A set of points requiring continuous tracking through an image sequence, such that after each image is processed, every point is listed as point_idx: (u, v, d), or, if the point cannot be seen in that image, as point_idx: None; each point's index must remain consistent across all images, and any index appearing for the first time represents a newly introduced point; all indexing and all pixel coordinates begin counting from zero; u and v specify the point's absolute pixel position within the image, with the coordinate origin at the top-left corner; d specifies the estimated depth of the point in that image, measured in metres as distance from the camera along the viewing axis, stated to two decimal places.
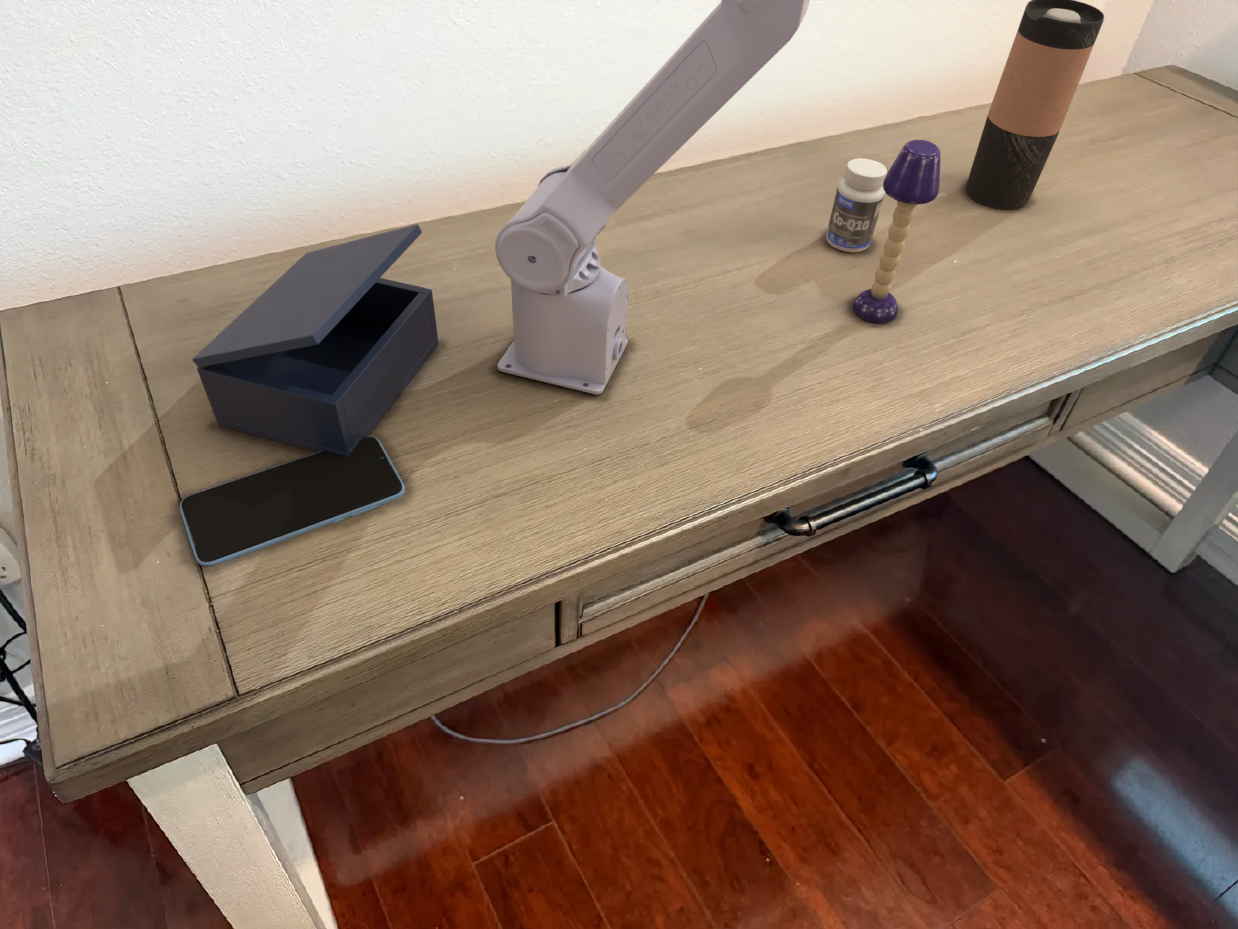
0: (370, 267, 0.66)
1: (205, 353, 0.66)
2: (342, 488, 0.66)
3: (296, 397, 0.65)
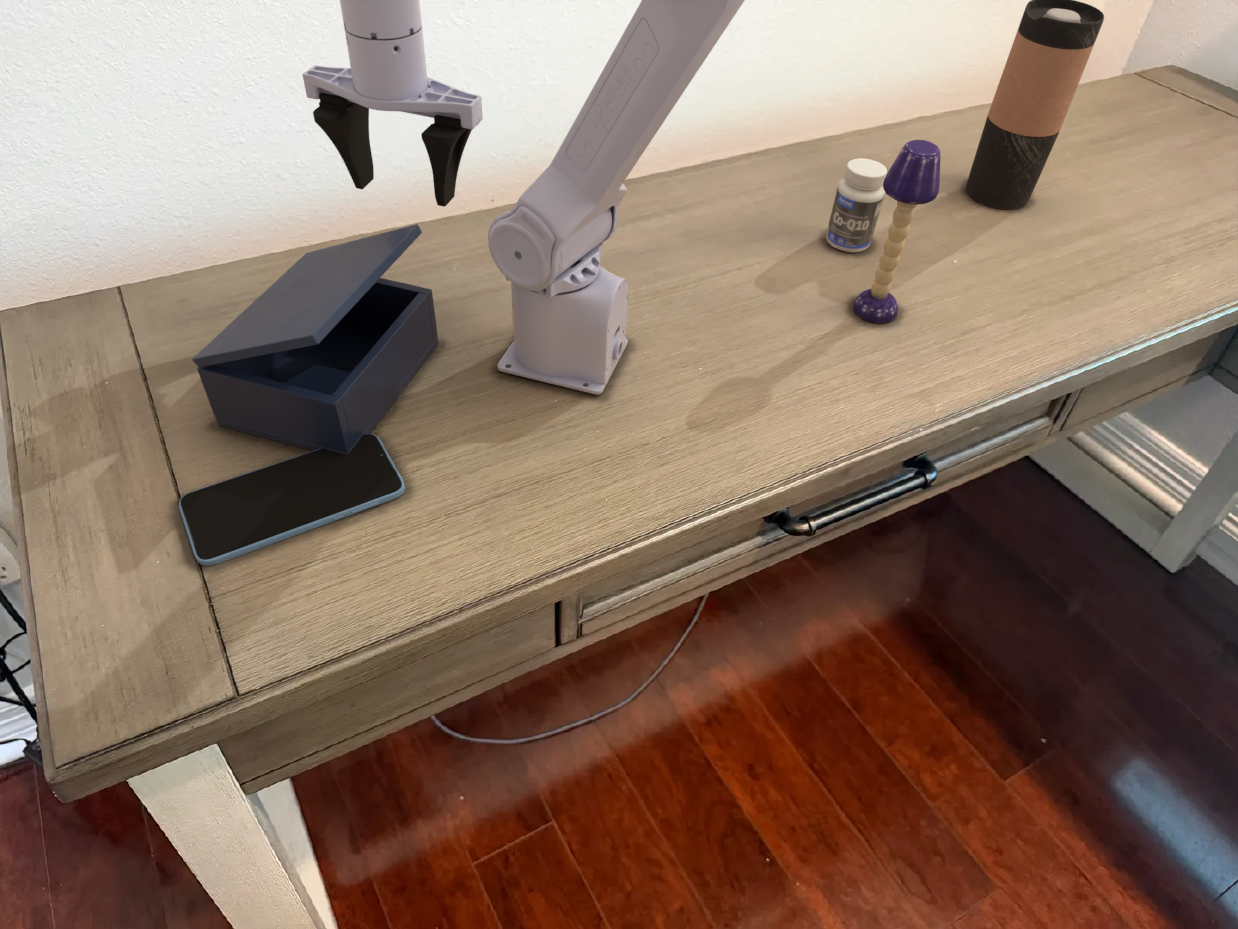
0: (370, 267, 0.66)
1: (205, 353, 0.66)
2: (342, 485, 0.66)
3: (296, 397, 0.65)
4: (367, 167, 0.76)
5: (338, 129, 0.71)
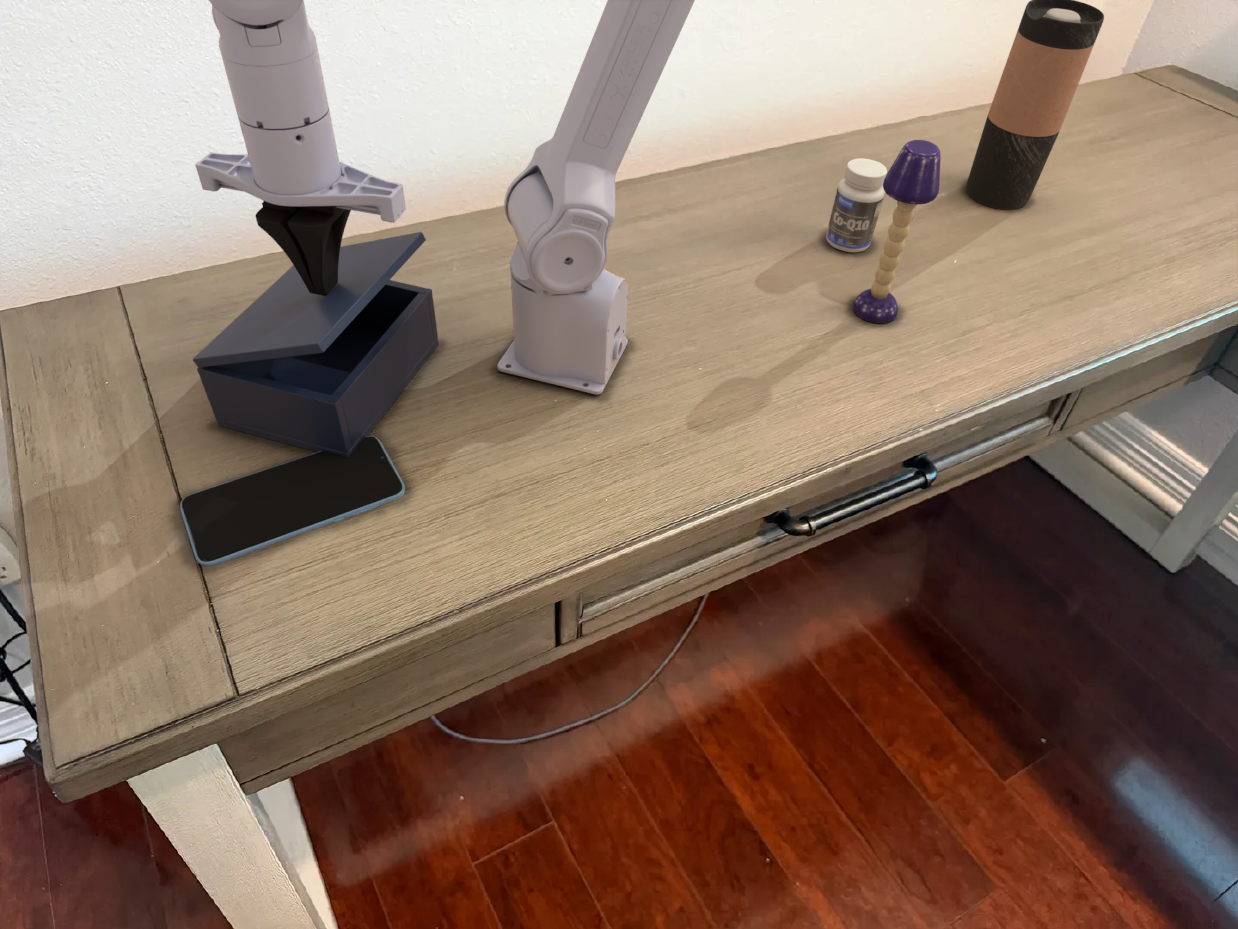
0: (375, 275, 0.67)
1: (206, 354, 0.66)
2: (342, 488, 0.66)
3: (296, 397, 0.65)
4: None
5: (286, 233, 0.62)
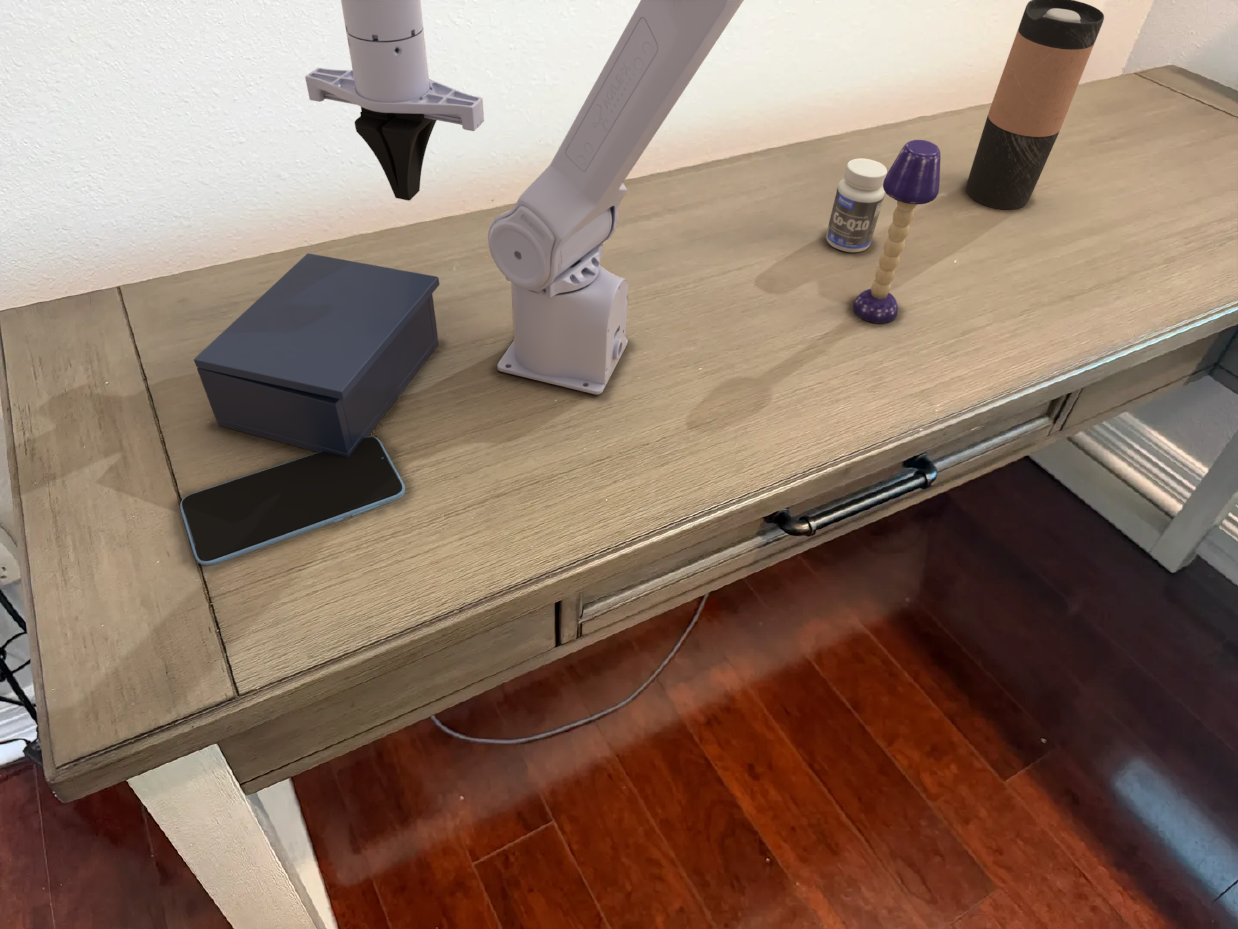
0: (393, 319, 0.69)
1: (210, 358, 0.66)
2: (342, 488, 0.66)
3: (296, 397, 0.65)
4: None
5: (379, 139, 0.71)
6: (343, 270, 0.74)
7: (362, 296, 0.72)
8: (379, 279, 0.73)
